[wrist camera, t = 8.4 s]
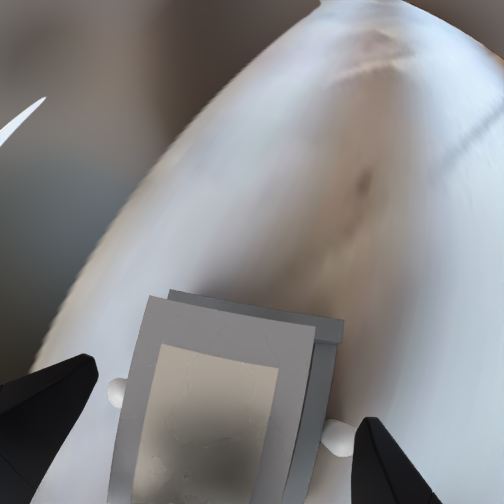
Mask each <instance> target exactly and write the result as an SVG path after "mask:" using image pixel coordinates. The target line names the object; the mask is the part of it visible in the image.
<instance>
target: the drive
mask: <svg viewBox="0 0 504 504" xmlns="http://www.w3.org/2000/svg"><path fill="white" fill-rule="evenodd" d="M315 328H316V327H314V326H308V325H301V324H294V323H288V322H281V321H275V320H269V319H263V318H258V317H252V316H246V315H241V314H235V313H230V312H225V311H220V310H214V309H209V308H204V307H200V306H195V305H190V304H185V303H181V302H176V301H172V300H167V299H163V298H158V297H154V296H149V299H148V302H147V306H146V309H145V313H144V316H143V320H142V324H141V327H140V331H139V335H138V339H137V342H136V346H135V350H134V354H133V358H132V362H131V367H130V371H129V375H128V380H127V384H126V389H125V393H124V398H123V403H122V408H121V413H120V418H119V423H118V429H117V434H116V440H115V446H114V452H113V459H112V466H111V473H110V481H109V489H108V498H107V504H280V502H281V498H282V494H283V490H284V487H285V483H286V479H287V475H288V471H289V467H290V462H291V458H292V454H293V449H294V445H295V440H296V436H297V431H298V426H299V422H300V417H301V412H302V406H303V401H304V396H305V390H306V385H307V379H308V373H309V367H310V361H311V355H312V349H313V342H314V335H315Z"/></svg>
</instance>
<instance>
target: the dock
mask: <svg viewBox="0 0 504 504" xmlns="http://www.w3.org/2000/svg"><path fill="white" fill-rule="evenodd" d="M167 300H172V301H176V302H181V303H185V304H190V305H195V306H200V307H204V308H209V309H214V310H220V311H225V312H230V313H235V314H241V315H246V316H252V317H258V318H263V319H269V320H275V321H281V322H288V323H294V324H301V325H308V326H314V327H316V328H315V335H314V342H313V349H312V355H311V361H310V367H309V373H308V379H307V385H306V390H305V396H304V401H303V406H302V412H301V417H300V422H299V426H298V431H297V436H296V440H295V445H294V449H293V454H292V458H291V462H290V467H289V471H288V475H287V479H286V483H285V487H284V490H283V494H282V498H281V502H280V504H304V501H305V498H306V495H307V491H308V487H309V484H310V480H311V476H312V472H313V469H314V465H315V461H316V456H317V452H318V448H319V444H320V441H321V442H322V443H323V444H324V445H325V446H326V447H327V448H328V449H329V450H330V451H331V452H332V453H333V454H334V455H336V456H339V457H347V456H350V455H352V454H353V449H354V437H355V433H356V431H357V429H356V428H354V427H352V426H350V425H347V424H345V423H343V422H341V421H338V420H336V419H327V420H325V415H326V410H327V405H328V399H329V394H330V388H331V382H332V376H333V370H334V363H335V357H336V350H337V345H338V344H340V343H342V336H343V327H344V320H341V319H334V318H327V317H320V316H313V315H307V314H300V313H294V312H288V311H282V310H276V309H270V308H264V307H258V306H253V305H247V304H242V303H236V302H231V301H226V300H220V299H215V298H210V297H205V296H200V295H195V294H190V293H186V292H181V291H176V290H172V289H170V291H169V295H168V298H167ZM127 380H128V379H122V378H117V379H114V380H112V381H111V382H110V383H109V385H108V388H107V396H108V399H109V401H110V402H111V404H112V405H114V406H115V407H117V408H119V409H121V408H122V403H123V398H124V393H125V389H126V384H127ZM324 420H325V421H324Z"/></svg>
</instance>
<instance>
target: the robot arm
mask: <svg viewBox="0 0 504 504" xmlns="http://www.w3.org/2000/svg"><path fill="white" fill-rule="evenodd" d="M98 376H99V374H98V370H97V366H96V362H95V359H94V358H93V357H92V356H90V355H87V354H80V355H78V356H75V357H73V358H70V359H67V360H65V361H62V362H60V363H57V364H55V365H52V366H49V367H47V368H44V369H42V370H39V371H36V372H34V373H31V374H28V375H26V376H23V377H20V378H18V379H15V380H12V381H10V382H7V383H4V385H3V384H1V385H0V504H30V502H31V500H32V498H33V496H34V494H35V492H36V490H37V488H38V487H39V485H40V483H41V481H42V479H43V477H44V476H45V474H46V472H47V470H48V468H49V467H50V465H51V463H52V461H53V460H54V458H55V456H56V454H57V453H58V451H59V449H60V448H61V446H62V444H63V443H64V441H65V439H66V438H67V436H68V434H69V433H70V431H71V429H72V428H73V426H74V424H75V423H76V421H77V419H78V418H79V416H80V414H81V413H82V411H83V409H84V407H85V405H86V403H87V401H88V399H89V397H90V394H91V392H92V390H93V388H94V386H95V384H96V382H97V380H98ZM351 504H442V502H441V501H440V500H439V499H438V497H437V496H436V495H435V493H434V492H432V489H431V488H430V487H429V485H428V484H427V483H426V481H425V480H424V479H423V477H422V476H421V475H420V473H419V472H418V471H417V469H416V468H415V467H414V465H413V464H412V463H411V461H410V460H409V459H408V457H407V456H406V455H405V453H404V452H403V451H402V449H401V448H400V447H399V445H398V444H397V443H396V441H395V440H394V439H393V437H392V436H391V435H390V433H389V432H388V431H387V429H386V428H385V427H384V425H383V424H382V423H381V421H380V420H379V419H378V418H377V417H365V418H364V419H363V421H362V422H361V424H360V426H359V427H358V429H357V431H356V433H355V437H354V449H353V461H352V472H351Z"/></svg>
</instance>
